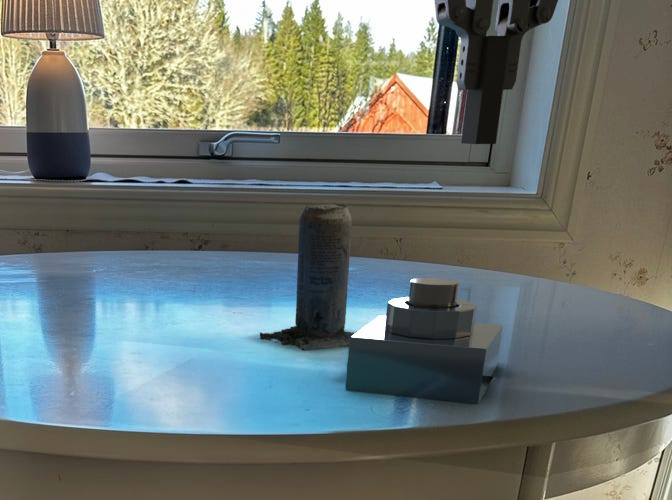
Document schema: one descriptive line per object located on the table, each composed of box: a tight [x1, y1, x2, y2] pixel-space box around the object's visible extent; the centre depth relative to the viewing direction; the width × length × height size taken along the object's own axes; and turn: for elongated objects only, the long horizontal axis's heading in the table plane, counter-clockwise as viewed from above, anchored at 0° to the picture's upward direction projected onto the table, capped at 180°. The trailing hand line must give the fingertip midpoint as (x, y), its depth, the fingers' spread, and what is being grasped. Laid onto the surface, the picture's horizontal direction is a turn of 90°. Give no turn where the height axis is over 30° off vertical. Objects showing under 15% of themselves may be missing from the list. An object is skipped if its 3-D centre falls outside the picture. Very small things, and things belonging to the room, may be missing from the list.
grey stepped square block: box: [344, 296, 504, 405], centre depth 74 cm, size 10×10×6 cm
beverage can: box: [258, 203, 359, 352], centre depth 84 cm, size 9×8×12 cm
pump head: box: [408, 277, 460, 309], centre depth 72 cm, size 4×4×2 cm
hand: (478, 143), depth 69 cm, fingers closed
